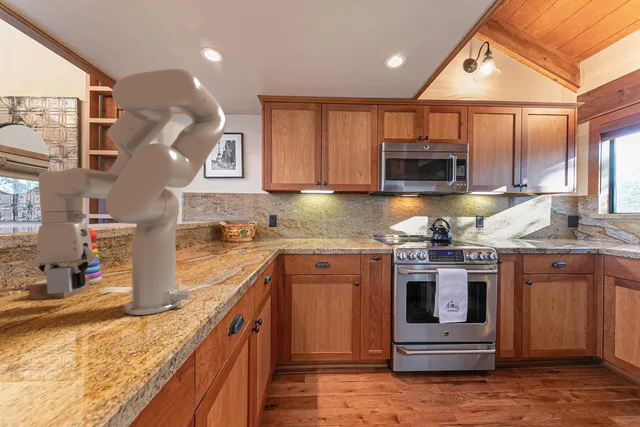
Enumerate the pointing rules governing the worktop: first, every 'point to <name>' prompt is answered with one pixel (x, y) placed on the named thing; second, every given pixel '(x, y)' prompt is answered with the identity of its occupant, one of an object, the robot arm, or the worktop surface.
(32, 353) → the worktop surface
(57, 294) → the walnut tray
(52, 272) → the grey block
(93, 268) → the stacking toy
